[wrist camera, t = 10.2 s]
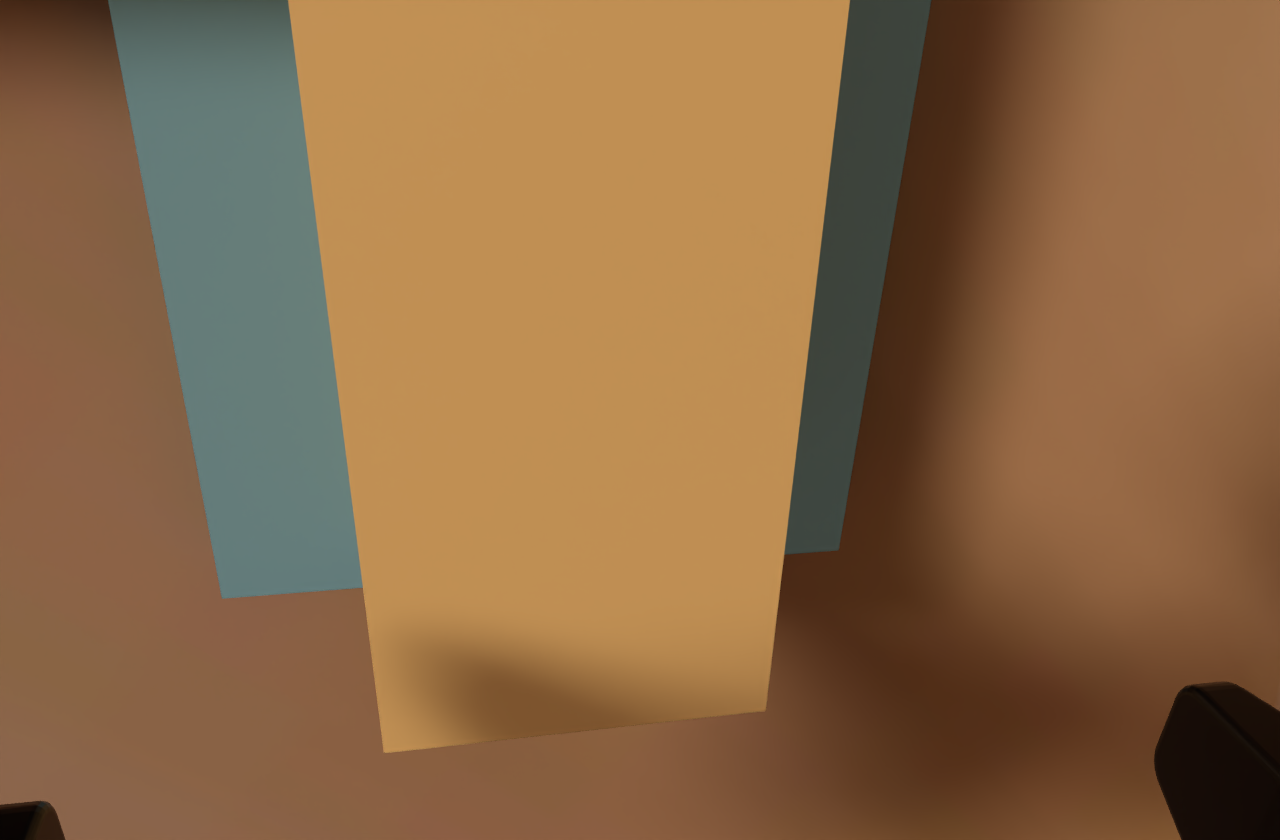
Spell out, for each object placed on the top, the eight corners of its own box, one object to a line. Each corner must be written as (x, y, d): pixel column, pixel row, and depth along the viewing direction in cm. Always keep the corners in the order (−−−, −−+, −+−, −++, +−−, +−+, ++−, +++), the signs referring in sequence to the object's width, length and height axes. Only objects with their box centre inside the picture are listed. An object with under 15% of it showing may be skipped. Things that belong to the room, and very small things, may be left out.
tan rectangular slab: (695, 505, 18) (765, 711, 14) (384, 531, 17) (384, 752, 14) (775, -701, 11) (949, -837, 7) (243, -741, 10) (172, -913, 7)
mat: (819, 510, 19) (838, 550, 19) (229, 553, 18) (221, 598, 17) (1043, -949, 11) (1098, -996, 10) (-71, -1098, 9) (-115, -1167, 8)
